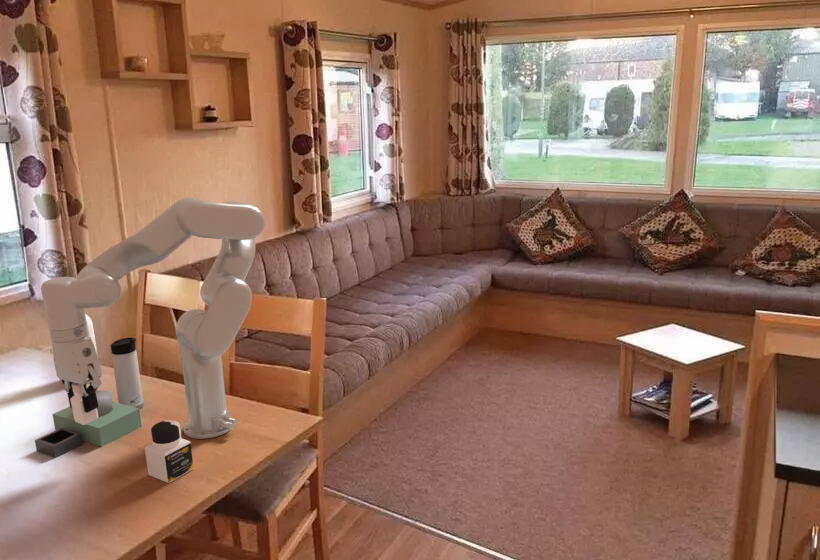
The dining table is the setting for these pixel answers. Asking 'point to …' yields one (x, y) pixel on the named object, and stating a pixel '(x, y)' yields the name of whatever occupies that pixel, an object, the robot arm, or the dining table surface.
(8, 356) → the dining table surface
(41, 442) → the dark brown square tray
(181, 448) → the medicine bottle
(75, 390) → the pepper shaker
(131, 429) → the green slab with dome
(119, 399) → the travel mug
